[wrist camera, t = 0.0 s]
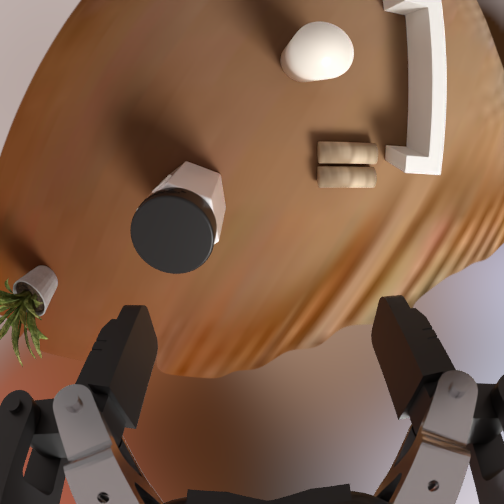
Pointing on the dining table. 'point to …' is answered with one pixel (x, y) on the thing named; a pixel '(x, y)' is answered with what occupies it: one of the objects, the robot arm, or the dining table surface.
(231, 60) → the dining table surface
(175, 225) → the jar
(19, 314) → the house plant
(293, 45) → the white pillar candle
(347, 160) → the roller
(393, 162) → the stop rail
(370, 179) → the roller
